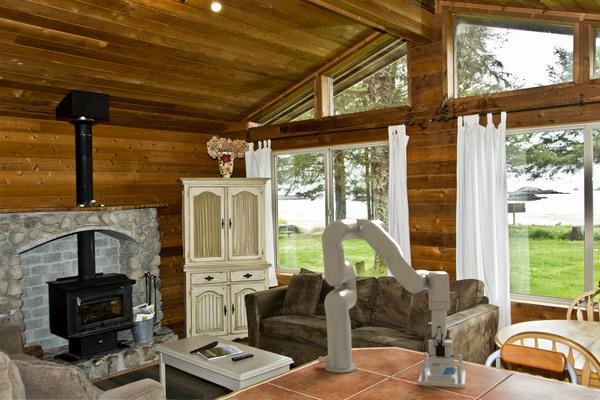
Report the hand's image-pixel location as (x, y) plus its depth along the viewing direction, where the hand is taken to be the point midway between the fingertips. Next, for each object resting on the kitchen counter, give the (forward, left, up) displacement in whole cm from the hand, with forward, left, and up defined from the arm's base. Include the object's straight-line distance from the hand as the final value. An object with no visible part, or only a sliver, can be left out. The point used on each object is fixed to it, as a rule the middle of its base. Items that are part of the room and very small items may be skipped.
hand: (441, 353), depth 195 cm
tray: (0, 0, -9) cm, 9 cm away
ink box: (0, 0, -7) cm, 7 cm away
